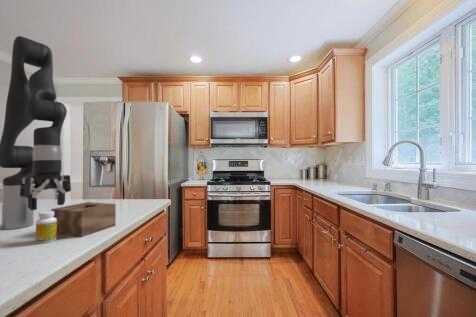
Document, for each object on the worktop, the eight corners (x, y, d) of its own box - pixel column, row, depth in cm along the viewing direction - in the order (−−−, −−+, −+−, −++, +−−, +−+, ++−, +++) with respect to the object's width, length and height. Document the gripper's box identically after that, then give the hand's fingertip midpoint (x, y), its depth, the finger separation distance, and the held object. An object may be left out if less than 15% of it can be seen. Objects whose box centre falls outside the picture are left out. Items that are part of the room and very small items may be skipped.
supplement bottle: (44, 244, 75) (45, 214, 75) (31, 243, 76) (31, 213, 76) (60, 239, 80) (60, 210, 80) (48, 237, 81) (48, 210, 81)
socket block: (51, 233, 86) (51, 209, 86) (87, 222, 101) (88, 202, 101) (81, 237, 82) (81, 211, 82) (115, 225, 96) (115, 203, 96)
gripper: (60, 159, 86) (61, 203, 86) (14, 159, 72) (14, 211, 72) (76, 159, 84) (76, 203, 84) (31, 158, 70) (31, 212, 70)
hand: (47, 207), depth 78 cm, fingers open, 8 cm apart
